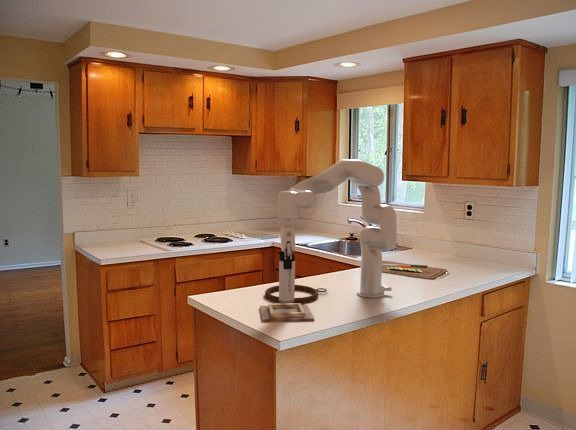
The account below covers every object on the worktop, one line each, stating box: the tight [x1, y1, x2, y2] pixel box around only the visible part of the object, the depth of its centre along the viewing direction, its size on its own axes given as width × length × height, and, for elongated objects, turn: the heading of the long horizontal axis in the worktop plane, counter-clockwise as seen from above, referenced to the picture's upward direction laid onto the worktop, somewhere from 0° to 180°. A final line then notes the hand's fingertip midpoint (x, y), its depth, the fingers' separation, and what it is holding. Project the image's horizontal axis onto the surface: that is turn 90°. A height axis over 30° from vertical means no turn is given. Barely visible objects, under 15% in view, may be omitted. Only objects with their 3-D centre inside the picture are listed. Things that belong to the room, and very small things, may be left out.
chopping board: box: [382, 260, 451, 280], centre depth 292 cm, size 45×27×3 cm, turn 55°
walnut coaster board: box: [259, 303, 315, 323], centre depth 208 cm, size 20×18×2 cm
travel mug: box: [278, 250, 296, 304], centre depth 207 cm, size 6×7×20 cm
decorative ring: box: [264, 284, 328, 305], centre depth 236 cm, size 24×3×30 cm
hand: (286, 266), depth 206 cm, fingers closed on travel mug, 6 cm apart
